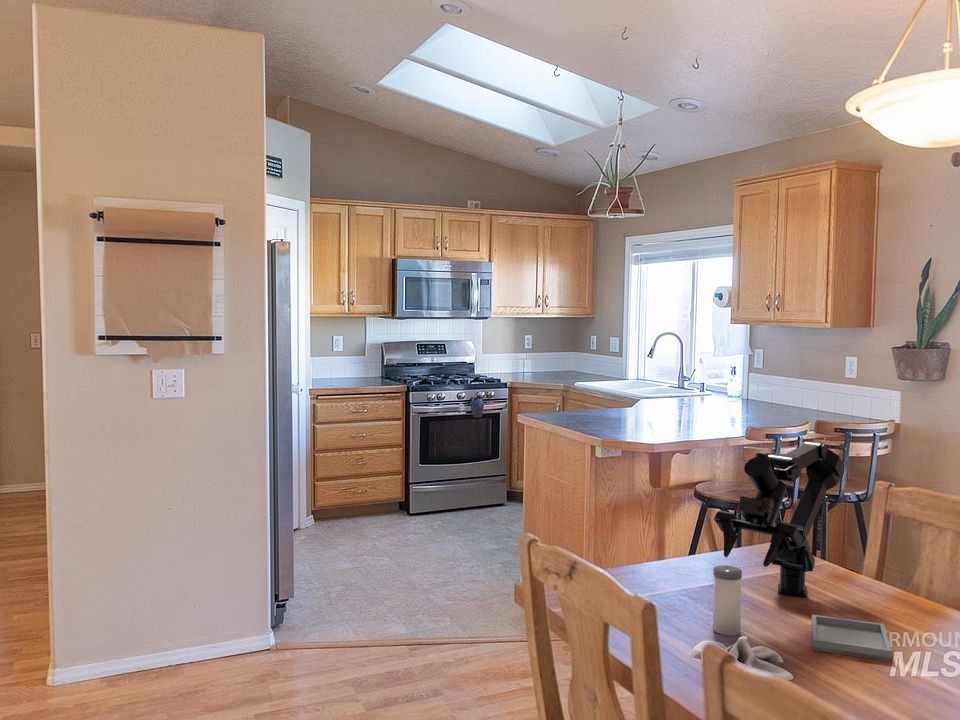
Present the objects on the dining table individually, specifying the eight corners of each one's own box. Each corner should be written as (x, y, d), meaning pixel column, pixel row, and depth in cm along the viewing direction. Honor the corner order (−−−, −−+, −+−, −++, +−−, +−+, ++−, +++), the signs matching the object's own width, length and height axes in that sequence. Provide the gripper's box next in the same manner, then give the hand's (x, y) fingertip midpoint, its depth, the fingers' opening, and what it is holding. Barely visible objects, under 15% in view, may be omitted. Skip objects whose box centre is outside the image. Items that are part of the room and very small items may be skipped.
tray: (811, 624, 169) (812, 614, 169) (883, 634, 164) (884, 623, 163) (813, 650, 156) (813, 639, 156) (891, 661, 151) (891, 650, 150)
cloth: (681, 644, 161) (681, 615, 160) (772, 646, 159) (773, 617, 159) (704, 697, 138) (705, 663, 138) (811, 700, 137) (812, 666, 137)
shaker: (713, 623, 170) (714, 564, 169) (741, 627, 168) (742, 567, 167) (711, 633, 164) (712, 572, 164) (739, 637, 162) (740, 575, 161)
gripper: (717, 476, 180) (693, 533, 173) (797, 488, 167) (774, 551, 160) (734, 502, 186) (710, 559, 179) (812, 517, 173) (790, 578, 166)
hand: (744, 561), depth 171 cm, fingers open, 9 cm apart
